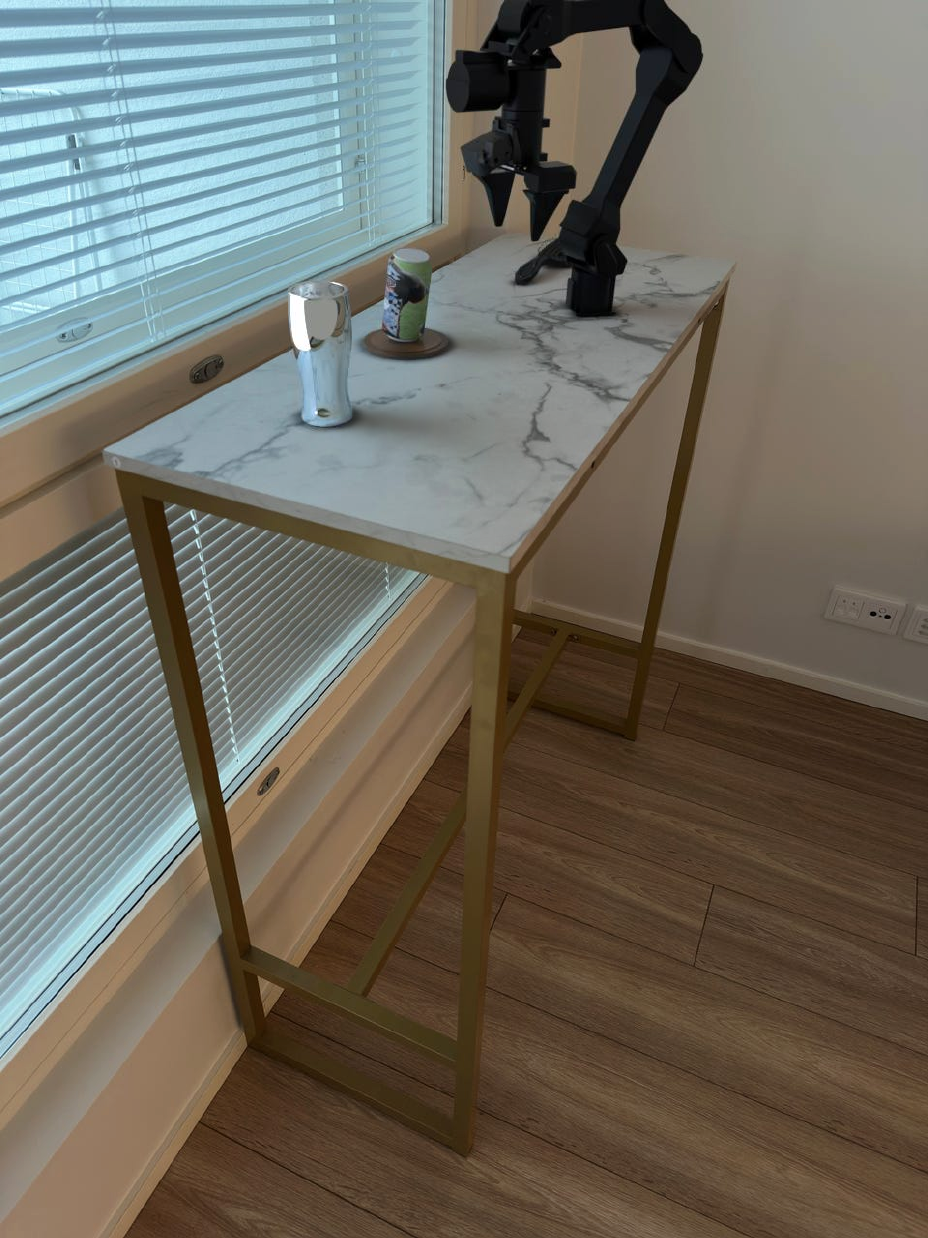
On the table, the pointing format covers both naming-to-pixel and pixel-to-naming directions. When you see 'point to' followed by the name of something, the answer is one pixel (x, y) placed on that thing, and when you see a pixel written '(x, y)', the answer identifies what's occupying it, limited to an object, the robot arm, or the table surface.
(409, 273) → the beverage can
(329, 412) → the beer glass
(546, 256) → the hairbrush
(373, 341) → the coaster
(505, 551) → the table surface
